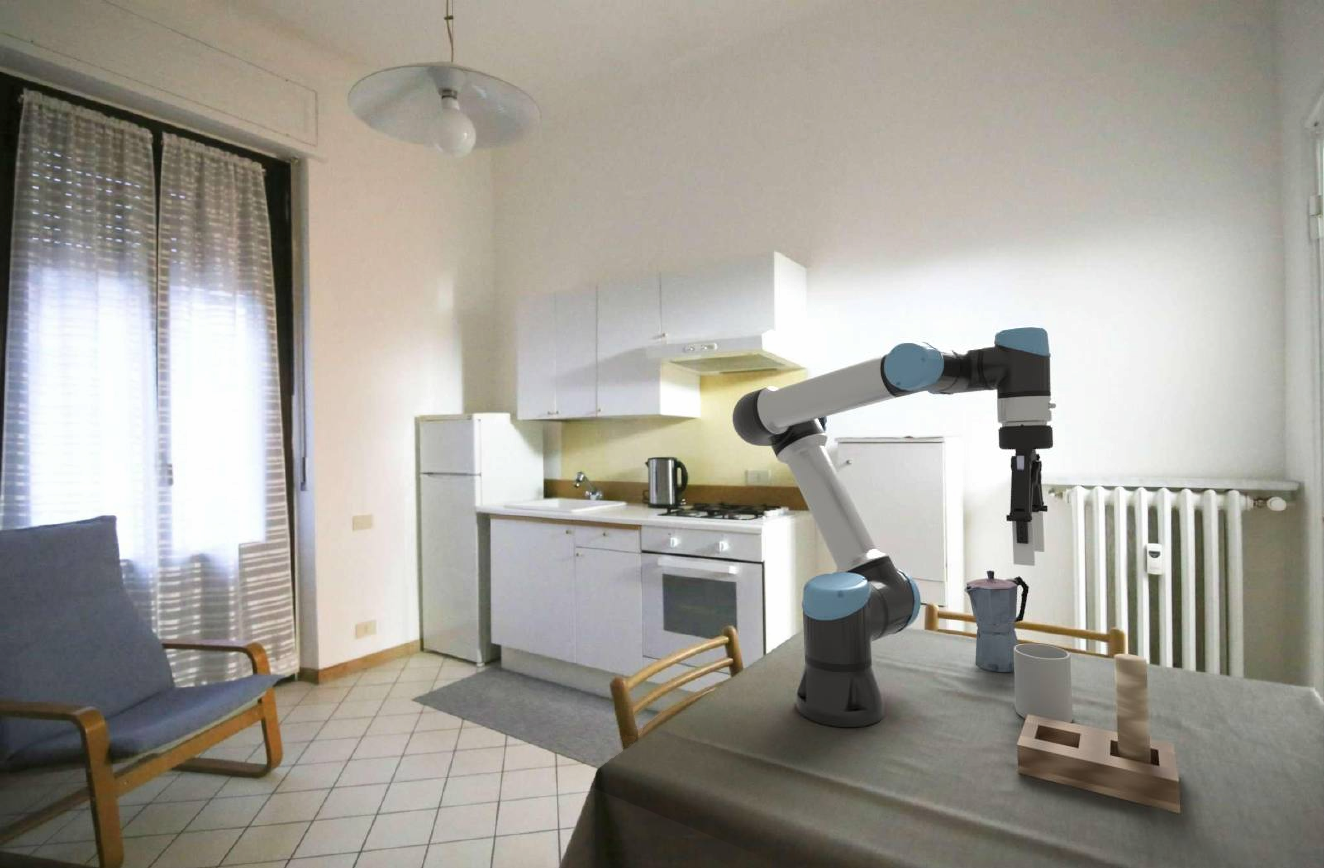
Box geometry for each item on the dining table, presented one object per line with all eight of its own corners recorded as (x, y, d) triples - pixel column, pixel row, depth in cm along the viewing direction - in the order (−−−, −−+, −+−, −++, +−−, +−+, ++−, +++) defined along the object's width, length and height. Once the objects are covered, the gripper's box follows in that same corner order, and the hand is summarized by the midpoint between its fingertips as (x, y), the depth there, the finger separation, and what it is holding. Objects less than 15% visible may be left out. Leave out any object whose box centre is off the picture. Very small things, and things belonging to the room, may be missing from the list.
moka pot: (953, 662, 135) (949, 569, 135) (1009, 653, 140) (1006, 563, 140) (988, 678, 126) (984, 577, 126) (1047, 668, 130) (1044, 571, 131)
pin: (1118, 776, 87) (1113, 659, 87) (1119, 765, 90) (1114, 652, 90) (1151, 784, 85) (1146, 664, 85) (1151, 772, 88) (1146, 656, 88)
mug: (1084, 725, 104) (1082, 658, 105) (1032, 726, 105) (1030, 660, 105) (1042, 696, 116) (1040, 636, 117) (995, 697, 117) (993, 637, 117)
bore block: (1018, 772, 90) (1017, 744, 90) (1028, 739, 100) (1027, 714, 100) (1180, 813, 80) (1179, 781, 80) (1174, 772, 89) (1173, 743, 89)
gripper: (1043, 422, 89) (1049, 574, 88) (1059, 424, 109) (1063, 547, 108) (984, 424, 93) (989, 568, 93) (1009, 426, 113) (1014, 544, 113)
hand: (1029, 557), depth 101 cm, fingers open, 13 cm apart
